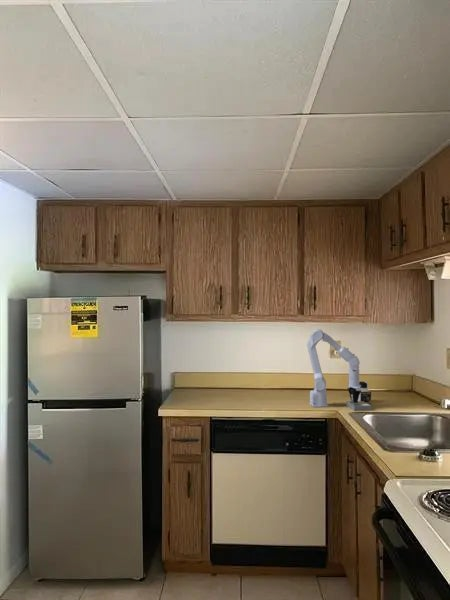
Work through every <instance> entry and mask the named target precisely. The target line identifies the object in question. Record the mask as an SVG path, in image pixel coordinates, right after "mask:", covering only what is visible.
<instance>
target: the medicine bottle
mask: <svg viewBox="0 0 450 600" xmlns="http://www.w3.org/2000/svg"><path fill="white" fill-rule="evenodd" d="M359 385H361V387H360V390H361V393H360V395H359V398H358V401H364V402H366V403H368V404H370V403H371V404H372V390H370V389H369V383H368V382H367V381H359Z"/></svg>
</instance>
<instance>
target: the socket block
mask: <svg viewBox="0 0 450 600" xmlns="http://www.w3.org/2000/svg"><path fill="white" fill-rule="evenodd" d="M345 405H346V407H347V408H350V410H352V411H353V412H358V411H359V412H360V411H365V412H366V411H372V410H373V406H372V405H371V404H370V403H366V402H364V401H358V402H357V403H351V400H349V401H347V400H346V401H345Z"/></svg>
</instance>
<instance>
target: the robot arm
mask: <svg viewBox="0 0 450 600" xmlns="http://www.w3.org/2000/svg"><path fill="white" fill-rule="evenodd" d="M320 341H322V342H325V343H327V344H329V345H330V346H331V347H332V348H334V349H335V350H336V351H337V354H338V356H340V357H341V358H342V359H343V360H344V361H345V362H346V363H347V362H348V367H349V368H348V384H347V386H348V387H347V391H348V394H349V398H350V399H351V395H352V396H353V402H358V398H359V395H360V393H361V390H360V387H361V385H359V382H360V363H361V362H360V360H359V357H358V356H356V354H355V353H352V352H351V351H350V350H349V348H348V347H346V346H341V345H340V344H339V343H338V342H337V341H336V340H335V339H333V337H332V336H330V335H329V334H328V333H326V331H325V332H324V331H323V330H322V329H321V328H316V329H314V331H313V332H312V333H311V334H310V335H309V339H308V342H307V344H306V347H307V350H308V351H307V352H308V355H309V360H310V364H311V368H312V372H313V378H314V388H313V390H309V405H310V406H312V407H313V408H319V407H322V408H323V407H324V408H325V407H330V405H329V404H328V403H327V402H328V399H327V397H328V394H327V393H328V392H327V391H328V390H327V388H326V387H327V386H326V385H327V381H326V379H325V378H324V375H323V372H322V368H321V364H320V360H319V355H318V351H317V348H316V346H317V344H319V342H320Z"/></svg>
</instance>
